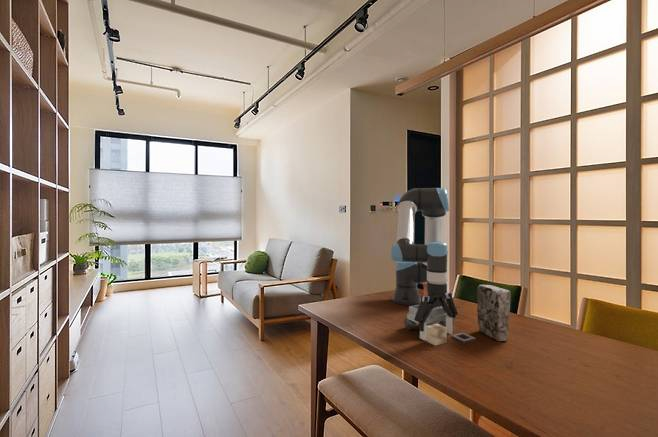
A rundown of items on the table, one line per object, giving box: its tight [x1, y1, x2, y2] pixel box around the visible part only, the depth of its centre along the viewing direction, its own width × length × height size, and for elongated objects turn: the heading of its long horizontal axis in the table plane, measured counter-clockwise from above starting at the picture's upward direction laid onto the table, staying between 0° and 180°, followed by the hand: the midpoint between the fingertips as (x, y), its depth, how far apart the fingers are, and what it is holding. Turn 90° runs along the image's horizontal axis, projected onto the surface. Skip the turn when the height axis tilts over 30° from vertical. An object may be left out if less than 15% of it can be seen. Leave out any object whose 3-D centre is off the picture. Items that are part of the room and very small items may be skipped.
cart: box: [403, 304, 448, 331], centre depth 144 cm, size 14×15×10 cm
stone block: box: [476, 284, 512, 342], centre depth 138 cm, size 13×7×20 cm, turn 19°
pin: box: [422, 282, 431, 305], centre depth 144 cm, size 4×4×13 cm
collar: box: [450, 332, 477, 344], centre depth 135 cm, size 6×6×1 cm
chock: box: [425, 323, 448, 347], centre depth 132 cm, size 6×5×6 cm
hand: (436, 336), depth 132 cm, fingers open, 13 cm apart
